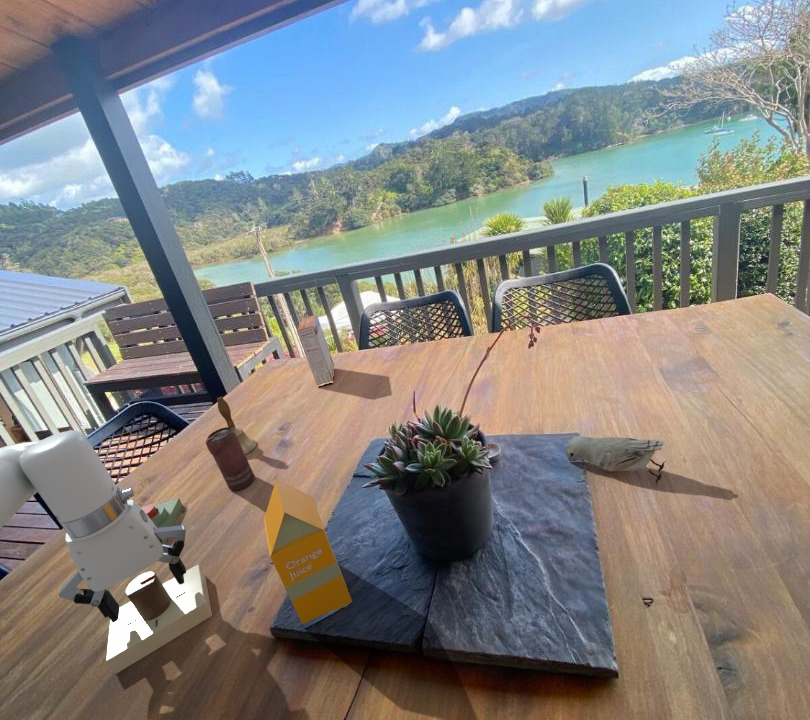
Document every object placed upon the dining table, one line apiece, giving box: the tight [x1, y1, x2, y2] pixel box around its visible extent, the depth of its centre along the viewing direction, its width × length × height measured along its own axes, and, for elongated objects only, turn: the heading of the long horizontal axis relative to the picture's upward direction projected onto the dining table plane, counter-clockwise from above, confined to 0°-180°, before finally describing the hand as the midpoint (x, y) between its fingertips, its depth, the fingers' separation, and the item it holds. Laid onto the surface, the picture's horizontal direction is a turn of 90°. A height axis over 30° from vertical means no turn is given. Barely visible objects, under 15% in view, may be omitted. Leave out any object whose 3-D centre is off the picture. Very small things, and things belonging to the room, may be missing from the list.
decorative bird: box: [565, 435, 667, 486], centre depth 76 cm, size 5×16×8 cm, turn 55°
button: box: [141, 503, 157, 519], centre depth 92 cm, size 4×4×2 cm
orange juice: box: [263, 478, 353, 625], centre depth 64 cm, size 8×9×20 cm
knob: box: [124, 570, 171, 620], centre depth 68 cm, size 4×4×6 cm
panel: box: [105, 564, 213, 675], centre depth 70 cm, size 14×10×3 cm
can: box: [205, 426, 255, 492], centre depth 99 cm, size 6×6×14 cm
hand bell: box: [216, 396, 258, 456], centre depth 114 cm, size 8×8×16 cm
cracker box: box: [296, 314, 335, 386], centre depth 146 cm, size 14×6×21 cm, turn 6°
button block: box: [151, 497, 184, 545], centre depth 93 cm, size 12×8×4 cm, turn 10°
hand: (150, 596), depth 68 cm, fingers open, 9 cm apart
